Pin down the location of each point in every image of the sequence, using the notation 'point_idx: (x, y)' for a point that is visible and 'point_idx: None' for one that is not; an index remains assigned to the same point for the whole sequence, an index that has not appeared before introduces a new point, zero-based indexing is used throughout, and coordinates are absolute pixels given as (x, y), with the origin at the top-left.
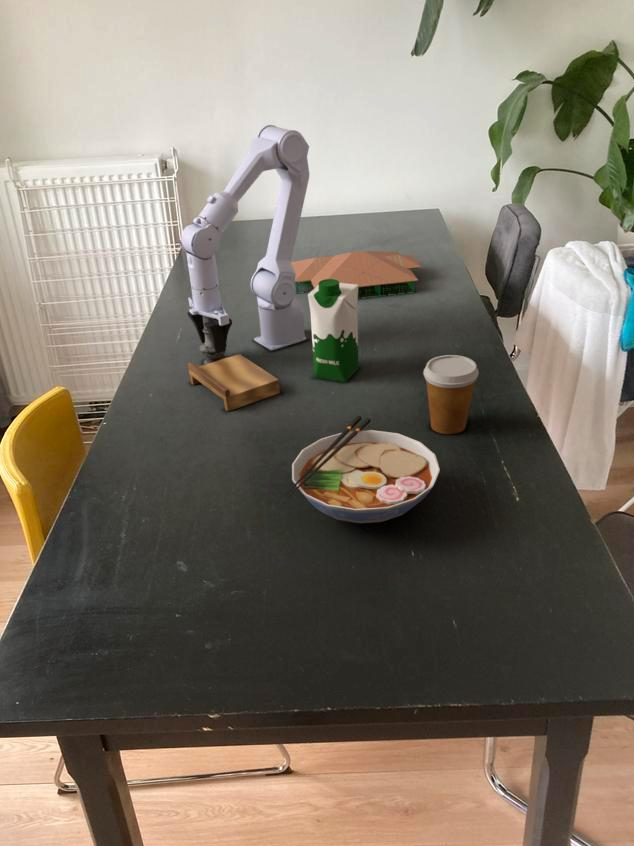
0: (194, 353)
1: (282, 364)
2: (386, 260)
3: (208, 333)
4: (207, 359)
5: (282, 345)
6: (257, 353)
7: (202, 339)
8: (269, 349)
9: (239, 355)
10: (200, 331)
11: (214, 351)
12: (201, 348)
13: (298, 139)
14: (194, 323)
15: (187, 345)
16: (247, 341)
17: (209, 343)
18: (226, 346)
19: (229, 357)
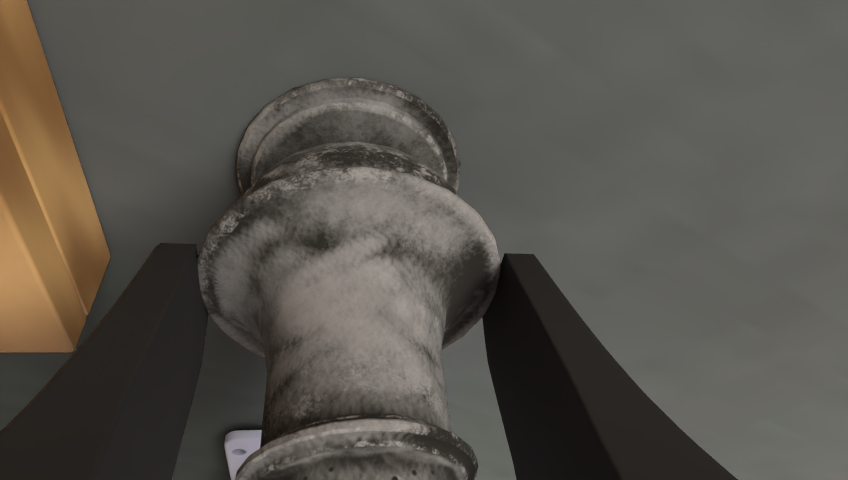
0: (641, 138)
1: (4, 406)
2: None
3: (289, 432)
4: (401, 145)
5: (234, 475)
6: (263, 383)
7: (518, 293)
8: (247, 431)
9: (24, 343)
10: (555, 375)
11: (203, 246)
12: (394, 191)
13: None
14: (663, 463)
15: (800, 173)
16: (456, 402)
17: (299, 300)
18: (255, 351)
19: (19, 277)
